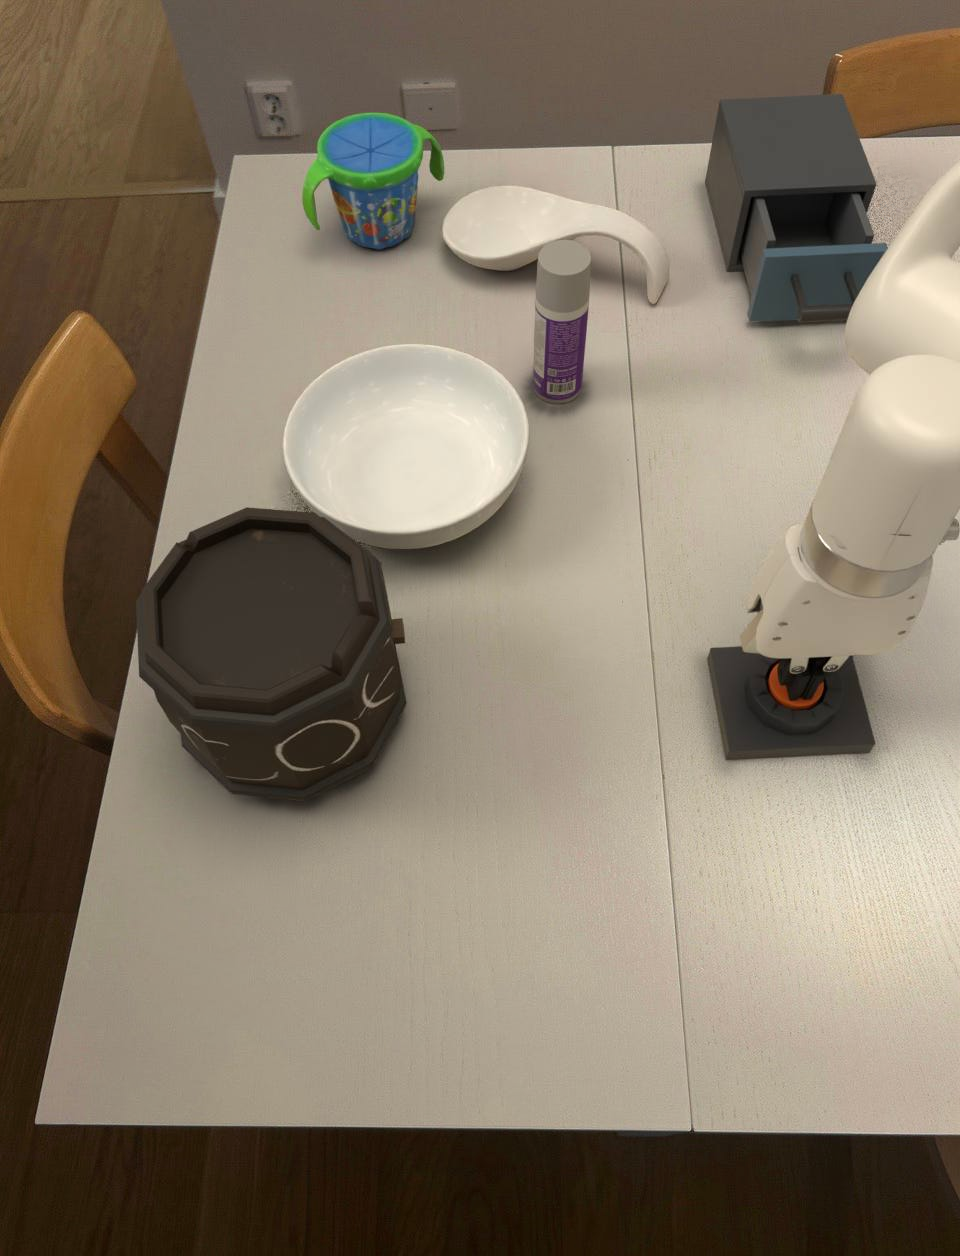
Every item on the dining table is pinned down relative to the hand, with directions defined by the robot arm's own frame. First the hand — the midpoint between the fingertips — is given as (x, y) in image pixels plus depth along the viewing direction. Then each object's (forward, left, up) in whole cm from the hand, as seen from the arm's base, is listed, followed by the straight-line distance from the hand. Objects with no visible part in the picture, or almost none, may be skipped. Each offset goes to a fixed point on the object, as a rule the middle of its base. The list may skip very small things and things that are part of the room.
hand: (795, 682), depth 80 cm
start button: (0, 0, -2) cm, 2 cm away
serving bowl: (+29, -24, -4) cm, 38 cm away
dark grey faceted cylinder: (+38, -2, -4) cm, 38 cm away
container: (+15, -35, -4) cm, 38 cm away
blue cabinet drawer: (-10, -45, -3) cm, 46 cm away
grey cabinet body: (-10, -57, -4) cm, 58 cm away
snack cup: (+32, -59, -4) cm, 67 cm away
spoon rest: (+14, -52, -4) cm, 54 cm away
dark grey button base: (0, 0, -4) cm, 4 cm away
